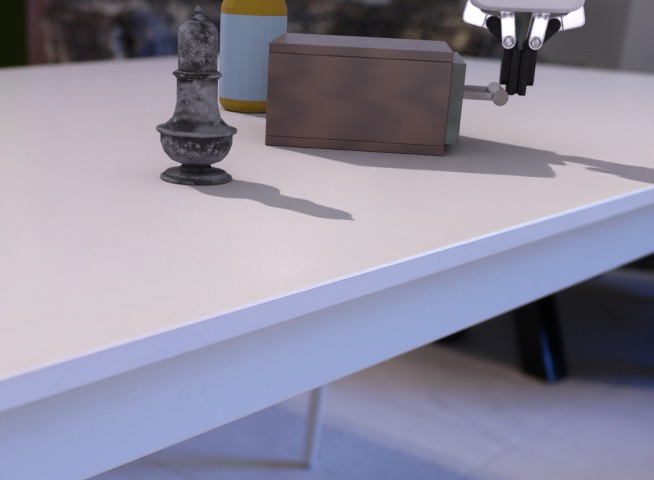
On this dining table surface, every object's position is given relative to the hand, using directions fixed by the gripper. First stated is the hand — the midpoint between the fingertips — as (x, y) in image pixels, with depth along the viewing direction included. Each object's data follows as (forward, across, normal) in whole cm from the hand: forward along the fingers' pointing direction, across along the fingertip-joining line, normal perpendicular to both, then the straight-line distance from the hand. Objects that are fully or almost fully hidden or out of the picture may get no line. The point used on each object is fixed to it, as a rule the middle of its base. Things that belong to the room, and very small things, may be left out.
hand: (514, 93), depth 96 cm
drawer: (+4, +10, 0) cm, 11 cm away
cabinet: (+5, +14, 0) cm, 15 cm away
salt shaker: (+5, +25, +24) cm, 35 cm away
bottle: (+4, +26, -16) cm, 31 cm away
